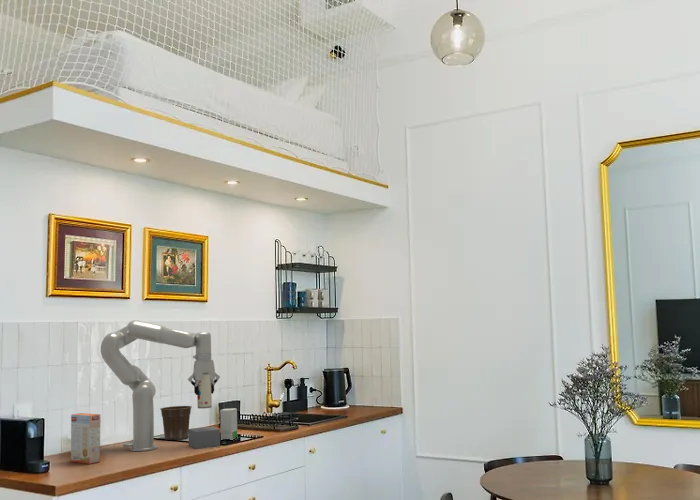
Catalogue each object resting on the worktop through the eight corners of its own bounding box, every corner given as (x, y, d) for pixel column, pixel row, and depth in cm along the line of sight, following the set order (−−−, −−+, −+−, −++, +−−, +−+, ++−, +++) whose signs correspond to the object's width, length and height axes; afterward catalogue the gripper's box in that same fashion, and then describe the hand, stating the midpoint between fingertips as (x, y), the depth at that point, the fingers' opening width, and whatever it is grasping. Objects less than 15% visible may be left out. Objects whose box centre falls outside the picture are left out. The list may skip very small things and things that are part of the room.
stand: (195, 449, 339) (195, 431, 339) (188, 445, 349) (188, 429, 350) (220, 446, 344) (219, 429, 345) (212, 442, 355) (212, 426, 356)
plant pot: (154, 439, 373) (154, 408, 374) (180, 435, 384) (180, 404, 386) (171, 442, 362) (171, 409, 363) (198, 437, 373) (197, 406, 375)
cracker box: (101, 462, 312) (101, 413, 314) (88, 464, 307) (89, 415, 309) (82, 459, 320) (82, 412, 322) (70, 461, 315) (70, 414, 317)
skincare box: (232, 441, 358) (231, 409, 360) (219, 441, 360) (219, 410, 361) (237, 438, 366) (237, 407, 368) (225, 438, 368) (225, 408, 369)
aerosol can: (196, 407, 350) (195, 366, 352) (209, 406, 353) (209, 365, 355) (199, 408, 344) (198, 367, 346) (213, 407, 347) (212, 366, 349)
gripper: (188, 358, 344) (189, 396, 342) (222, 356, 352) (223, 393, 350) (184, 358, 350) (184, 395, 348) (218, 356, 359) (219, 392, 357)
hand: (204, 393), depth 349 cm, fingers closed on aerosol can, 6 cm apart
